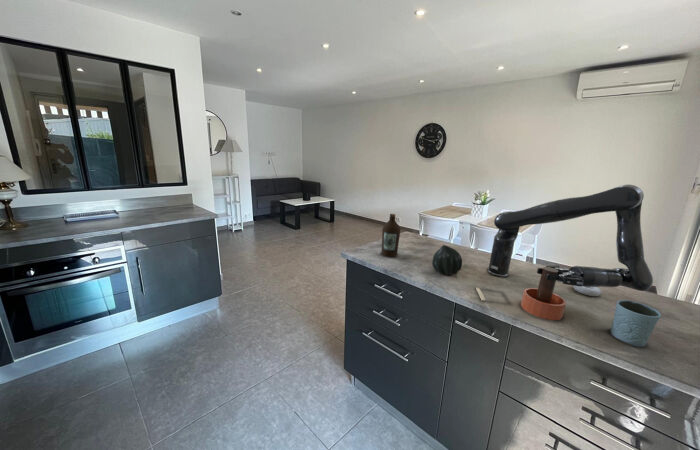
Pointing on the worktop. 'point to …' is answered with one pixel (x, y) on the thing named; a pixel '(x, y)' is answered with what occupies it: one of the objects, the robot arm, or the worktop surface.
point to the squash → (447, 260)
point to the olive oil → (390, 237)
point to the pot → (543, 305)
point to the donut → (588, 290)
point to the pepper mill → (546, 285)
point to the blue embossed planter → (634, 322)
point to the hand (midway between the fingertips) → (542, 273)
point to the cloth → (480, 294)
